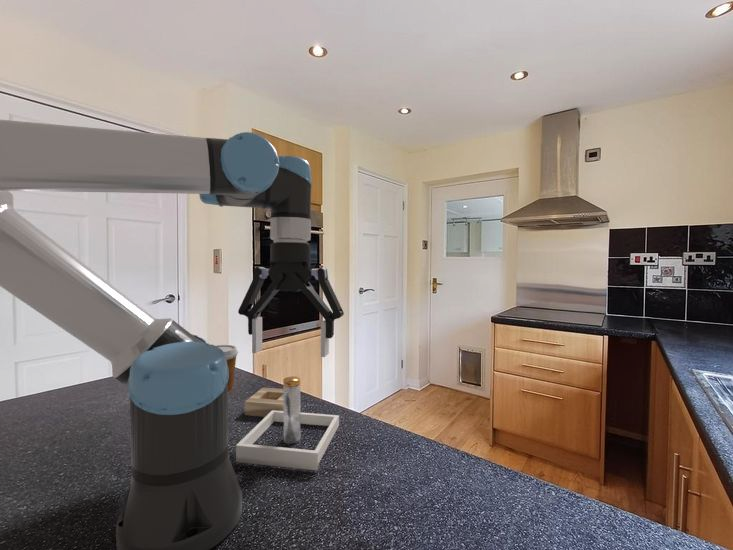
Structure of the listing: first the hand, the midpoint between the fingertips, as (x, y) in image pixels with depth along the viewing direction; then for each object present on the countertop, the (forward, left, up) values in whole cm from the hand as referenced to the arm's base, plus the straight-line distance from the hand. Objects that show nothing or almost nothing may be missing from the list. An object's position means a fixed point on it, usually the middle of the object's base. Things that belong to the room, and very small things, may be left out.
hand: (290, 353), depth 68 cm
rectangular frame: (0, 0, -18) cm, 18 cm away
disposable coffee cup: (+22, +29, -18) cm, 41 cm away
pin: (0, 0, -17) cm, 17 cm away
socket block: (+13, +10, -18) cm, 24 cm away
